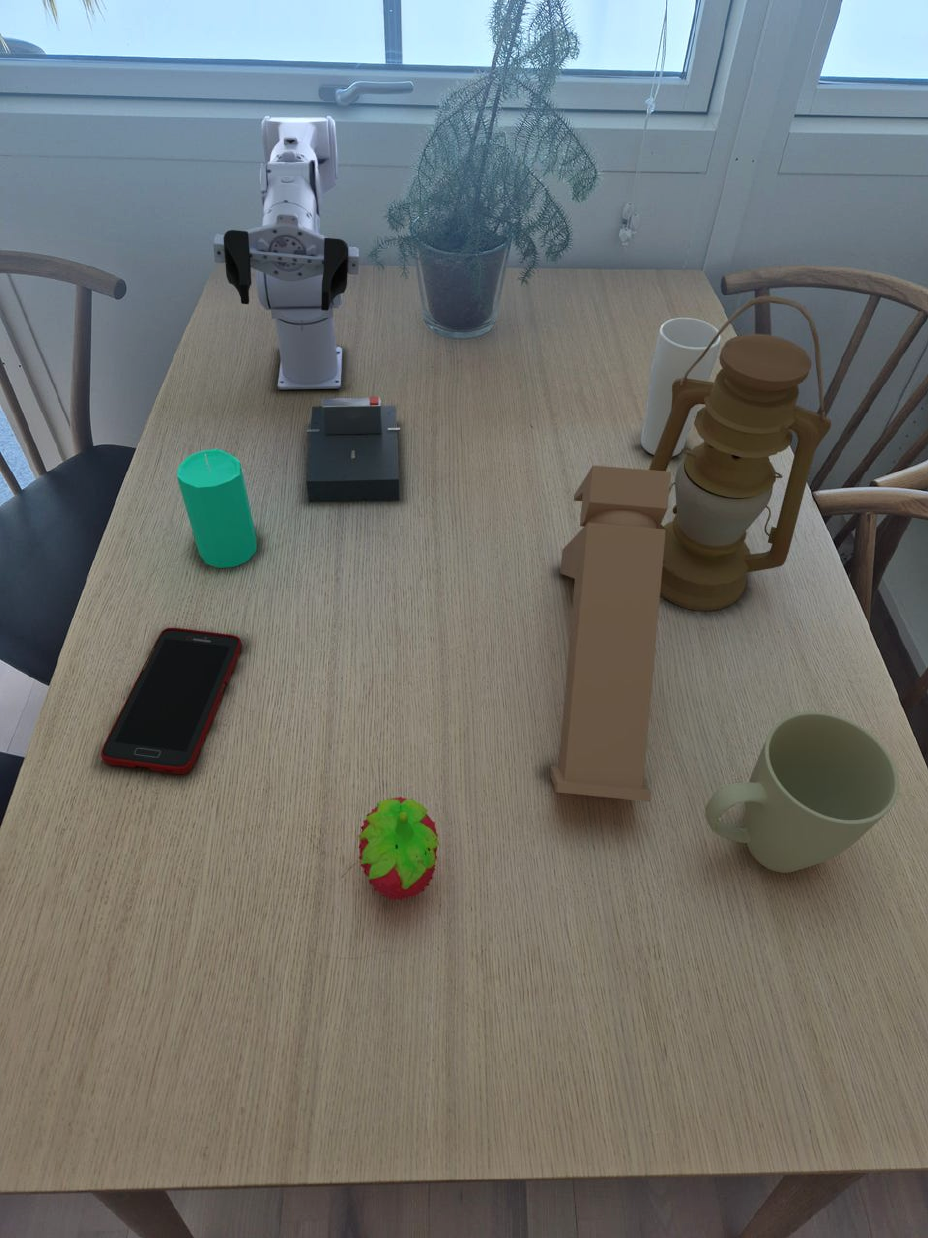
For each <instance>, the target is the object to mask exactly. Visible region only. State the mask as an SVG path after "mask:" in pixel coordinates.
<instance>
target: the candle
mask: <svg viewBox="0 0 928 1238" xmlns="http://www.w3.org/2000/svg"><path fill="white" fill-rule="evenodd" d="M176 478H177V482H178V485H179V489H180V493H181V496H182V500H183V503H184V506H185V510H186V513H187V517H188V520H189V523H190V527H191V530H192V535H193V537H194V542H195V544H196V545H195V546H196V549H197V552H198V555H199V557H200V558H201V559H202V560H203V562H204V563H205V564H206V565H209V566H211V567H215V568H218V569H224V568H236V567H238V566H240V565H242V564H244V563H247V562H249V561H250V560H251V558H252V557H253V556H254V555H255V554H256V552H257V548H258V546H257V545H258V539H257V536H256V529H255V526H254V520H253V517H252V512H251V506H250V501H249V496H248V493H247V492H248V491H247V488H246V482H245V479H244V474H243V469H242V464H241V461H240V459H238V458H237V457H236V456H234V454H231V453H229V452H226V451H225V450H223V449H221V448H211V449H203V450H200V451H198V452H195V453H193V454H190V455H188V456H187V457H186V458H185V459H184V460H183V461H182V462H181V463H180V464H179V465H178V467H177V471H176Z"/></svg>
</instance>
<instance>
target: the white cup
mask: <svg viewBox="0 0 928 1238" xmlns="http://www.w3.org/2000/svg"><path fill="white" fill-rule="evenodd" d="M718 332H719V330H718V329H717V328H716V327H715V326H714V325H712V324H710V323H708V322H707V321H704V320H701V319H697V318H692V317H676V318H672V319H669V320H666V321H665V322H664V323H662V325H661V326H660V328H659V332H658V335H657V338H656V341H655V346H654V350H653V354H652V360H651V365H650V372H649V379H648V387H647V394H646V395H647V396H646V404H645V410H644V417H643V424H642V429H641V434H640V445H641V447H642V448H643V450H644V451H646V452H647V453H648V454H650V455H653V456H654V454H655V452H656V449H657V447H658V444H659V441H660V439H661V436H662V433H663V431H664V428H665V425H666V423H667V420H668V417H669V415H670V412H671V407H672V385H673V383H674V381H675V380H676V379H680V378H682V377H684V376H685V373H686V372H687V371H688V369H689V368H690V367H691V366H692V365H693V364H694V362H695V361H696V360H697V359H698V358H699V357H700V356H701V355H702V354H703V352H704V351H705V350H706V348H707V347H708V345H709V344H710V343H711V341H712V340H713V339H714V337H715V336H716V334H717V333H718ZM721 334H722V333H721ZM721 334H720V335H719V337H718V338H717V339H716V341H715V342H714V343H713V345H712V346H711V347H710V349H709V350H708V351H707V353H706V354H705V355H704V357H703V358H702V359H701V360H700V361H699V362H698V363H697V364H696V366H695V367H694V368H693V369H692V370H691V371H690V373H689V374H688V376H687V379H694V380H700V381H707V382H710V380H711V377H712V374H713V371H714V368H715V365H716V362H717V358H718V355H719V352H720V347H721V341H722V335H721ZM700 405H701V404H698V405H695V406H694V407H693V408H691V410H690V412H689V415H688V417H687V420H686V422H685V425H684V427H683V430H682V432H681V435H680V437H679V440H678V442H677V445H676V447H675V450H674V452H673V455H672V457H675V456H677V455H678V456H679V454H680V453H682V450H681V449H683V448H685V446H686V443H687V439H688V436H689V433H690V431H691V428H692V426H693V424H694V421H695V418H696V415H697V412H698V411H699V407H700Z"/></svg>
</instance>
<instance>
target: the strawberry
mask: <svg viewBox="0 0 928 1238" xmlns="http://www.w3.org/2000/svg"><path fill="white" fill-rule="evenodd" d="M427 812H428V810H427V808H426V807H425V806H424V805H423V804H421V803H420V802H418V801H416V800H415V799H413V798H406V797H401V796H399V797H391V798H386V799H383V800H380V801H378V802H376V806H375V807H374V808H373V809H371V812H369V813H368V814H366V817H365V819H364V820H362V822H363V825H362V826H360V829H361V833H360V834H359V835H358V838H359V839H360V842H359V845H358V849H359V856H358V859H359V864H360V867H362V868H363V874H364V875H366V876H367V880H368V883H369V885H371V886H373V887H374V891H375V892H377V893H378V894H381V896H382V897H384V898H387V899H389V900H390V901H391V900H393V901H396V900H400V901H401V902H402V901H403V900H405V899H406V900H407V899H409V898H410V897H411V898H413V897H416V896H418V895H420V893H421V892H424V891H425V888H426V886H427V887H428V886H430V882H431V881H432V880H433V875H434V873H435V871H436V868H435V867H436V861H437V860H438V856H437V851H438V847H439V845H440V842H439V839H438V837H439V836H438V835H439V834H438V832H437V827H436V822H435V821H434V820H432V818H431V817H430V816H429V814H428V813H427Z"/></svg>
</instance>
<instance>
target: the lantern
mask: <svg viewBox="0 0 928 1238" xmlns="http://www.w3.org/2000/svg"><path fill="white" fill-rule="evenodd" d="M760 303H761V304H762V303H764V304H766V303H767V304H768V303H770V304H777V305H785V306H790V307H792V308H795V309H797V310H798V312H800V313H801V314H802V315H803V317H804V318H805V319H806V320H807V322H808V325H809V328H810V332H811V336H812V340H813V344H814V359H815V368H816V376H817V385H818V400H819V406H820V411H821V414H820V413H817V412H814V411H812V410H809V409H806V408H804V407H801V406H798V405H796V404H797V401H798V397H799V394H800V389H799V386H798V385H800V384H802V383H804V382H805V380H806V379H807V378H808V376H809V374H810V370H811V368H812V360H811V357H810V355H809V354H808V353H807V351H806V350H805V349H803V348H802V347H800V346H799V345H798V344H796V343H794V342H793V341H790V340H788V339H786V338H783V337H779V336H776V335H771V334H764V333H763V334H762V333H747V334H740V335H736V336H733V337H731V338H730V339H728V340H726V341H725V343H724V345H723V346H722V347H721V349H720V354H719V356H718V357H719V364H720V366H721V369H720V370H719V371H718V373H717V374H716V375H715V379H714V382H713V381H709V382H707V381H700V380H694V379H687V376H688V374H689V373H690V371H691V370H692V369H693V368H694V367H695V366H696V364H697V363H698V362H699V361H700V360H701V359H702V358H703V357H704V355H705V354H706V353H707V351H708V350H709V349H710V347H711V346H712V345H713V343H714V342H715V341H716V339H717V338H718V337H719V335H720V334H722V333H723V332H724V331H725V330H726V329H727V327H729V325H730V324H731V323H732V322H733V321H734V320H735V319H736V318H737V317H739V316H740V315H741V314H742V313H744V312H745V311H747V310H748V309H749V308H751V307H753V306H755V305H759V304H760ZM816 328H817V327H816V326H815V322H814V319H813V317H812V315H811V313H810V312H809V310H808V309H807V306H805V305H803V304H801V303H799V302H798V301H796V300H793V299H787V298H783V297H777V296H773V295H760V296H757V297H755V298H754V299H751V300H748V301H747V302H746V303H744V305H743V306H741V307H740V308H738V309H737V310H736V311H735V312H734V313H732V315H731V316H730V317H729V318H728V319H727V321H726V322H724V324H723V325H722V326H721V327H720V329H719V330H718V331H719V332H718V333H717V334H716V336H715V337H714V339H713V340H712V341H711V343H710V344H709V345H708V347H707V348H706V350H705V351H704V352H703V354H702V355H701V356H700V357H699V358H698V359H697V360H696V361H695V362H694V364H693V365H692V366H691V367H690V368H689V369H688V371H687V372H686V373H685V376H684V377H682V378H680V379H676V380H675V381H674V383H673V385H672V407H671V412H670V415H669V417H668V420H667V423H666V425H665V428H664V431H663V433H662V436H661V439H660V441H659V444H658V447H657V449H656V452H655V454H654V455H653V457H652V460H651V462H650V465H649V468H648V470H654V471H666V472H667V470H668V467H669V465H670V462H671V460H672V458H673V456H672V455H673V452H674V450H675V447H676V445H677V442H678V440H679V437H680V435H681V432H682V430H683V427H684V425H685V422H686V420H687V417H688V415H689V412H690V410H691V408H693V407H694V406H695V405H698V404H700V405H704V406H703V407H702V408H700V409H698V410H697V413H696V415H695V418H694V420H693V426H694V428H695V430H696V432H697V434H698V436H699V437H700V439H702V440H703V441H702V442H701V443H700V444H699V445H696V446H693V448H688V447H687V448H685V447H684V448H683V449H681V450H682V451H681V453H682V452H683V453H684V454H686V456H684V458H683V459H682V460H681V462H680V464H679V466H678V468H677V470H676V473H675V478H674V482H672V483H670V488H669V494H670V493H671V490H672V487H674V491H675V505H674V506H673V507H672V513H673V514H674V517H673V520H672V521H670V522H667V523H666V524H664V525H663V524H661V525H660V527H659V528H658V529H665V530H666V533H665V544H664V555H663V567H662V578H661V589H660V598H663V599H665V600H667V601H669V602H671V603H672V604H674V605H676V606H678V607H680V608H684V609H686V610H691V611H699V612H712V611H717V610H722V609H724V608H727V607H730V606H731V605H733V604H734V603H735V602H737V601H738V600H739V599H740V598H741V596H742V595H743V593H744V591H745V588H746V586H747V581H748V573H753V572H759V571H764V570H770V569H775V568H779V567H782V566H784V565H785V563H786V561H787V558H788V555H789V552H790V548H791V545H792V540H793V537H794V533H795V528H796V525H797V521H798V518H799V514H800V509H801V506H802V501H803V498H804V495H805V490H806V486H807V483H808V479H809V475H810V471H811V467H812V464H813V460H814V457H815V453H816V450H817V449H818V447H819V445H820V443H821V442H822V441H823V439H824V438H825V437H826V435H827V434H828V433H829V432H830V430H831V427H832V420H831V419H830V418H828V417H827V416H826V411H825V407H824V406H825V405H824V379H823V367H822V356H821V348H820V340H819V335H818V331H817V329H816ZM792 431H793V432H794V433H795V435H796V438H797V444H796V448H795V452H794V455H793V460H792V464H791V467H790V471H789V476H788V479H787V483H786V488H785V492H784V495H783V499H782V504H781V508H780V511H779V515H778V519H777V524H776V527H775V526H771V527H770V530H769V532H768V530H767V529H768V528H767V526H768V524H769V522H770V518H771V517H772V516H771V515H772V511H771V508H770V507H769V506H768V505H769V502H770V500H771V498H772V495H773V489H774V484H775V483H776V481H777V479H782V478H783V477H784V476H783V474H781V473H780V472H777V471H776V469H775V467H774V465H773V463H772V462H771V460H770V458H769V457H771V456H775V455H778V453H782V452H784V451H785V450H787V449H788V448H789V446H790V445H791V444H792V443H793V432H792ZM765 509H766V510H768V516H767V519H766V522H765V524H764V527H763V528H764V530H763V531H764V534H766V535H767V537H768V539H767V543H768V544H771V547H770V549H769V550H768V551H765V552H759V553H752V554H751V550H750V548H749V547H748V545H747V543H746V542H745V541H746V539H747V535H748V534H747V530H748V529H750V527H751V526H752V525H753V523H754V522H755V521H756V520H757V519H758V518H759V516H760V515H761V514H762V513H763V511H764V510H765Z"/></svg>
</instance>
